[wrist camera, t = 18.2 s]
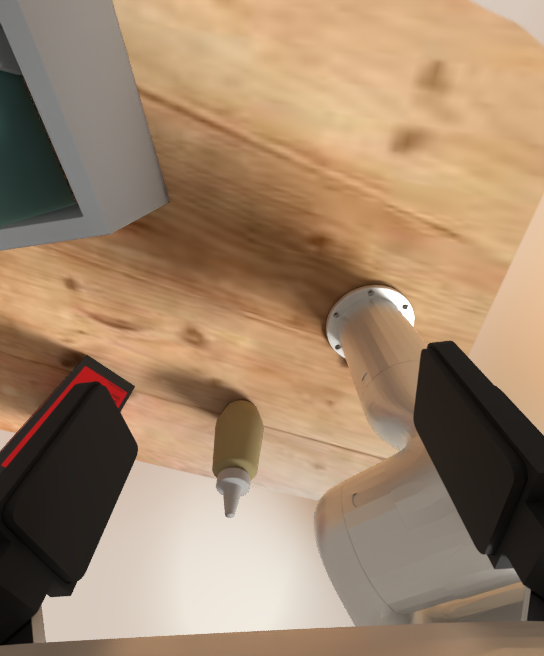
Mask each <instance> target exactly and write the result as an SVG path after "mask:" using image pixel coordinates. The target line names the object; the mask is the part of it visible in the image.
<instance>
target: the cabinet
mask: <svg viewBox="0 0 544 656" xmlns="http://www.w3.org/2000/svg"><path fill="white" fill-rule="evenodd" d="M0 70H1V71H5V72H9V73H12V74H16V75H22V74H23V76H24V79H25V81H26V83H27V86H28V88H29V90H30V93H31V95H32V97H33V100H34V102H35V104H36V107H37V109H38V111H39V114H40V116H41V118H42V121H43V123H44V125H45V128H46V130H47V133H48V135H49V137H50V140H51V142H52V144H53V147H54V149H55V151H56V154H57V156H58V158H59V161H60V163H61V165H62V168H63V170H64V172H65V175H66V177H67V179H68V182H69V184H70V186H71V189H72V191H73V193H74V196H75V198H76V200H77V203H78V204H75V205H71V206H68V207H65V208H61V209H58V210H54V211H51V212H48V213H44V214H41V215H37V216H34V217H31V218H27V219H24V220H20V221H17V222H14V223H10V224H7V225H4V226H0V251H1V250H8V249H15V248H21V247H28V246H35V245H41V244H48V243H55V242H62V241H68V240H75V239H82V238H88V237H95V236H102V235H108V234H112V233H114V232H116V231H117V230H119V229H121V228H123V227H125V226H127V225H128V224H130V223H132V222H134V221H136V220H138V219H139V218H141V217H143V216H145V215H147V214H149V213H150V212H152V211H154V210H156V209H158V208H160V207H162V206H163V205H165V204H167V203H169V202H170V201H169V197H168V194H167V190H166V187H165V183H164V180H163V176H162V173H161V170H160V166H159V163H158V159H157V156H156V152H155V149H154V145H153V142H152V138H151V135H150V131H149V128H148V124H147V121H146V117H145V114H144V110H143V107H142V103H141V100H140V97H139V93H138V90H137V86H136V83H135V79H134V76H133V72H132V69H131V65H130V62H129V58H128V55H127V51H126V48H125V44H124V41H123V37H122V34H121V31H120V27H119V24H118V20H117V17H116V13H115V10H114V6H113V3H112V0H0Z"/></svg>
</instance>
